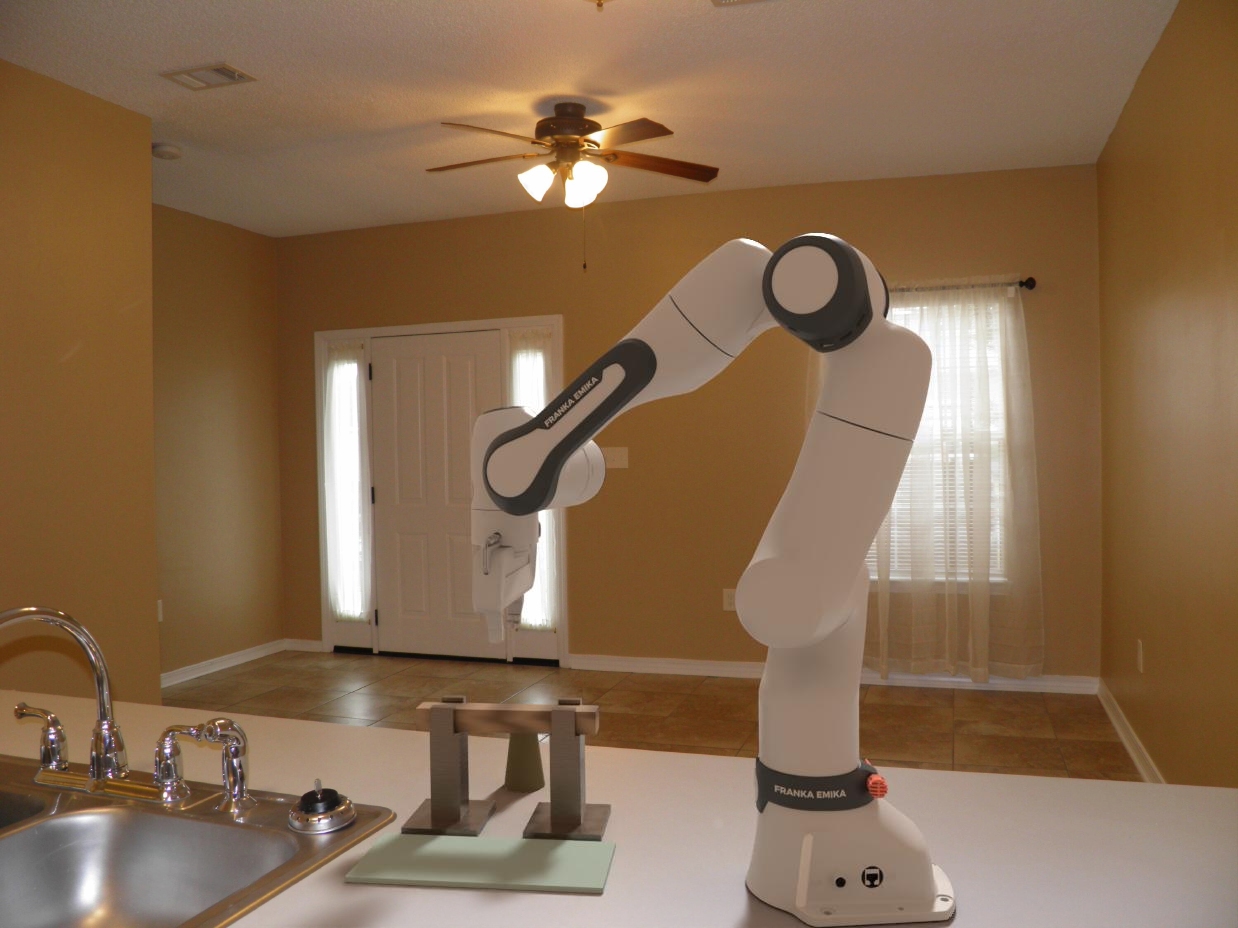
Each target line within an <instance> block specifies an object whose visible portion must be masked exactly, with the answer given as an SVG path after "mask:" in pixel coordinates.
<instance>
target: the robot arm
mask: <svg viewBox="0 0 1238 928" xmlns="http://www.w3.org/2000/svg"><path fill="white" fill-rule="evenodd" d="M889 309H890V293H889V289H888V285H887V282H886V280H885V278H884V276H883V275H882V273H880V271H879V270H878V268H876V267H875V266H874V264H873V263H872V260H870V259H869V258H868V257H867V256H866V255H865V254H864V253H863V252H862V251H860V250H859V249H858V248H856V247H854V246H852V245H851V244H849V243H848V242H847V241H845V240H843V239H841V238H840V237H838V236H835V235H832V234H828V233H827V234H826V233H818V232H817V233H805V234H802V235H799V236H795V237H793V238H791V239H789V240H788V241H786V242H784V243H783V244H782V245H781V246H779V247H778V249H776V250H775V252H774V253H773V252H772V251H771V250H770V249H768V248H767V247H766V246H764V245H762V244H761V243H758V242H756V241H754V240H750V239H747V238H736V239H732V240H729V241H727V242H725V244H723V245H721V246H720V247H718V248H716V249H715V250H714V251H713V252H711V253H710V254H709V255H708V256H706V257H705V258H704V259H702V261H700V262H698V264H697V265H696V266H694V267H693V268H692V269H691V270H690V271H688V273H687V274H685V275H684V276H683V277H682V278H681V279H680V280H679V281H678V282H677V283H676V284H675V285H674V286H673V287H672V288H671V289H670V291H668V292H667V293H666V294H665V295H664V297H663V298H662V299H661V300H660V301H659V302H657V304H656V305H655V306H654V307H653V308H652V309H651V310H650V311H649V312H648V313H647V314H646V315H645V317H643V318H642V319H641V321H640V322H638V323H637V325H636V326H635V327H633V328H632V329H631V330H630V331H629V332H628V333H627V334H626V335H624V336H623V337H622V338H621V339H620V340H619V341H618V342H617V343H615V344H614V345H613V346H612V347H611V348H610V349H609V350H608V351H607V352H606V353H604V354H602V356H600V357H599V358H598V359H597V360H595V361H594V362H593V363H592V364H591V365H590V366H589V367H587V368H586V369H585V370H584V371H583V372H582V373H581V374H579V376H578V377H577V378H576V379H575V380H573V381H572V382H571V383H570V384H568V386H567V387H566V388H565V389H564V390H562V392H561V393H559V394H557V396H556V397H555V398H554V399H553V400H552V401H550V403H548V404H547V406H545V407H544V408H543V409H542V410H541V411H540V412H539V413H538V414H537V413H536V412H535V411H534V410H533V409H532V408H530V407H527V406H525V405H523V406H522V405H513V406H512V405H511V406H506V407H505V406H502V407H497V408H492V409H489V410H487V411H484V412H483V413H482V414H480V415H479V416H478V417H477V418H476V420H475V423H474V426H473V431H472V436H471V445H470V446H471V448H470V478H471V481H472V483H473V497H472V501H471V504H470V511H471V512H470V517H471V518H470V520H471V521H470V523H471V524H470V526H471V527H470V529H471V531H470V532H471V533H470V535H471V536H470V537H471V538H470V539H471V541H470V542H471V544H472V545H476V546H480V549H479V550H477V552H475V555H474V559H473V569H472V590H471V591H472V592H471V593H472V595H471V598H472V599H471V602H472V607H473V610H474V611H475V612H476V613H484V619H485V622H486V626H487V630H488V642H489V643H490V644H501V643H502V642H503V641H504V640H505V639H506V634H505V633H506V627H507V628H508V629H518V628H520V626H521V625H522V613H523V607H524V603H525V594H526V593H528V592H529V591H530V590H531V589H533V587H534V583H535V579H536V570H537V554H538V543H539V539H540V538H541V536H542V524H541V522H540V521H539V512H541V511H548V510H554V509H555V510H556V509H563V508H567V507H573V506H578V505H581V504H585V503H586V502H590V501H591V500H592V499H594V498H595V497H596V496H597V495H598V494H599V492H600V491H601V490H602V488H603V486H604V483H605V481H606V476H607V464H606V463H607V462H606V458H605V455H604V452H603V451H602V449H601V447H600V446H599V444H598V443H597V442H596V441H595V440H594V438H595V437H597V435H598V434H600V433H601V432H602V431H603V430H604V429H605V428H606V427H607V426H608V425H610V424H611V422H613V421H614V420H615V419H616V418H618V417H619V416H621V415H622V414H624V413H625V412H627V411H630V410H631V409H633V408H636V407H637V406H639V405H643V404H646V403H649V402H651V401H652V402H653V401H656V400H660V399H664V398H669V397H674V396H680V395H685V394H689V393H692V392H694V391H696V390H697V389H699V388H701V387H702V386H704V385H705V384H707V383H708V382H710V381H711V380H712V379H714V378H715V377H716V376H718V375H719V374H721V372H722V371H724V370H725V369H727V367H729V365H730V364H731V363H732V362H733V361H734V360H736V358H737V357H739V355H740V354H741V353H742V352H743V351H744V350H745V349H746V348H747V347H748V346H749V345H750V344H751V343H752V342H753V341H755V339H757V337H759V336H760V335H761V334H762V333H765V331H767V330H770V329H772V328H775V327H782V329H784V331H786V332H787V333H789V334H790V335H792V336H793V337H794V338H795V337H796V338H798V339H799V340H800V341H801V342H803V343H804V344H805V345H806V346H807V345H808V347H810V348H812V349H813V350H814V351H816V352H817V353H819V354H823V357H824V358H825V364H826V365H825V366H826V367H825V369H826V370H825V376H824V380H823V383H822V388H821V391H820V394H819V396H818V400H817V402H816V405H815V407H814V408H815V409H814V411H813V414H812V416H811V420H810V422H809V425H808V427H807V432H806V435H805V437H804V441H803V443H802V447H801V450H800V453H799V456H798V457H797V461H796V464H795V467H794V470H793V472H792V475H791V477H790V479H789V482H788V484H787V486H786V488H785V490H784V492H783V494H782V496H781V498H780V500H779V502H778V504H777V505H776V507H775V510H774V511H773V514H772V516H770V517H771V518H770V520H769V522H768V524H767V526H766V528H765V530H764V532H763V535H762V537H761V539H760V540H759V543H758V545H757V547H756V548H755V549H756V550H755V552H754V553H753V556H752V559H751V560H750V562H749V564H748V566H747V567H746V569H745V570H744V571H743V572H742V575H741V576H740V578H739V580H738V583H737V586H736V589H735V594H734V603H735V610H736V614H737V617H738V620H739V622H740V624H741V625H742V627H743V628H744V629H745V631H746V632H747V633H748V634H749V635H750V636H751V637H752V639H754V640H756V641H757V642H759V643H760V644H761V645H764V646H767V648H768V650H767V655H766V660H765V667H764V669H763V673H762V677H761V680H760V682H759V683H760V684H759V688H758V748H759V749H758V752H759V753H758V754H757V755H756V758H755V767H754V773H753V774H754V776H753V777H754V803H755V806H756V809H757V817H756V818H757V820H756V826H755V836H754V843H753V848H752V853H751V858H750V862H749V864H748V865H749V866H748V869H747V873H746V876H745V883H746V886H747V888H748V889H749V890H750V892H751V893H752V894H753V895H754V896H755V897H756V898H758V899H759V900H761V901H763V902H765V903H767V904H768V905H770V906H771V907H775V908H778V909H780V910H783V911H785V912H787V913H790V914H792V915H794V916H795V917H797V919H799V920H800V921H802V922H804V923H805V924H807V925H809V926H812V927H815V928H816V927H817V928H820V927H821V928H823V927H824V928H825V927H842V926H844V927H845V926H846V927H847V926H856V925H857V926H861V925H862V926H863V925H880V924H897V923H899V924H901V923H917V922H933V921H934V922H936V921H946V920H949V919H950V918H951V917H953V915H954V913H955V911H956V907H957V906H956V904H955V903H956V896H955V890H954V887H953V884H952V883H951V881H950V879H949V877H948V876H947V874H946V873H945V872H944V870H942V868H941V867H940V866H939V865H937V864H936V863H935V862H934V861H932V857H931V853H930V849H929V846H928V843H927V842H926V839H925V837H924V835H923V834H922V832H921V830H920V828H919V827H918V826H917V825H916V824H915V823H914V821H912V820H911V819H910V818H909V817H908V816H906V815H905V814H903V813H902V812H901V811H900V810H898V809H897V808H896V807H894V806H893V805H892V804H891V803H890V802H887V801H886V800H885V799H884V798H885V797H886V795H887V794H888V793H889V792H888V791H889V788H888V784H887V783H886V780H885V778H884V777H883V776H882V775H880V774H879V773H878V770H877V768H875V767H874V766H872V764H871V762H869V760H868V759H867V758H865V760H863V759H862V758H860V705H859V704H860V686H861V675H862V668H863V659H864V658H863V657H864V652H865V651H864V650H865V639H866V629H867V620H868V619H867V618H868V616H867V615H868V602H869V601H868V600H869V593H870V592H869V591H870V585H871V575H870V569H869V566H868V563H867V561H866V558H867V556H868V553H869V551H870V549H871V547H872V544H873V542H874V540H875V539H876V536H877V534H878V533H879V530H880V528H881V526H882V525H883V522H884V521H885V518H886V516H887V515H888V513H889V512H890V509H891V506H892V504H893V501H894V499H895V497H896V493H897V491H898V487H899V484H900V481H901V479H902V476H903V473H904V469H905V467H906V465H907V462H908V459H909V456H910V454H911V450H912V448H913V445H914V442H915V441H914V440H916V436H917V434H918V430H919V428H920V424H921V421H922V418H923V414H924V410H925V406H926V403H927V398H928V397H927V396H928V393H929V387H930V383H931V375H932V367H933V355H932V352H931V349H930V347H929V345H928V344H927V342H926V341H925V340H924V339H923V338H922V337H920V336H919V334H917V333H916V332H914V331H912V330H911V329H909V328H907V327H904V326H902V325H899V324H895V323H893V322H891V321H889V320H888V318H887V317H888V314H889ZM506 608H507V613H506V619H505V620H506V624H505V625H506V627H504V615H505V609H506ZM955 906H956V907H955ZM954 910H955V911H954ZM953 912H954V913H953ZM952 914H953V915H952ZM949 917H950V918H949Z"/></svg>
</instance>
